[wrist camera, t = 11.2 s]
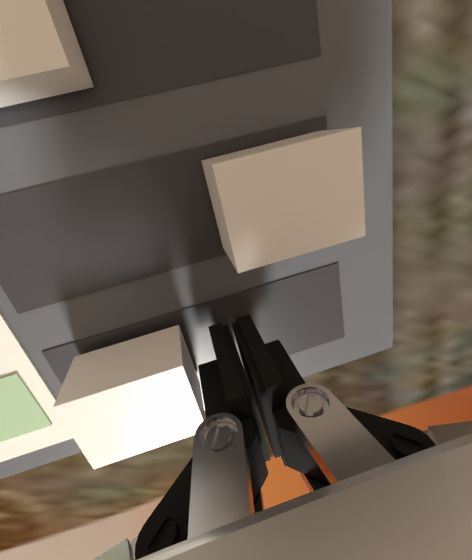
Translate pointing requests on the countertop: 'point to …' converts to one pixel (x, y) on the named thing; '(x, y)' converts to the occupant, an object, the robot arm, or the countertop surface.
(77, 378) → the tab
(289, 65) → the switch panel
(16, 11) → the tab
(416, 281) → the countertop surface
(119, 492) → the countertop surface
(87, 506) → the countertop surface
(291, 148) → the tab
